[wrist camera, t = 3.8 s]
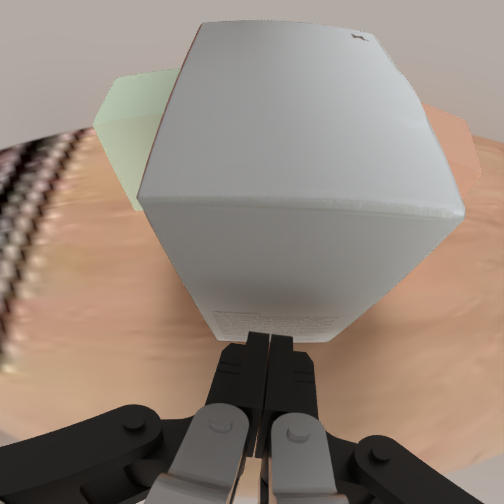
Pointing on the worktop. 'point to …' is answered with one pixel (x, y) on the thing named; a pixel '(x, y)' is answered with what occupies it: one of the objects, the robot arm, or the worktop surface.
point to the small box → (294, 178)
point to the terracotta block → (455, 146)
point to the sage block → (133, 124)
